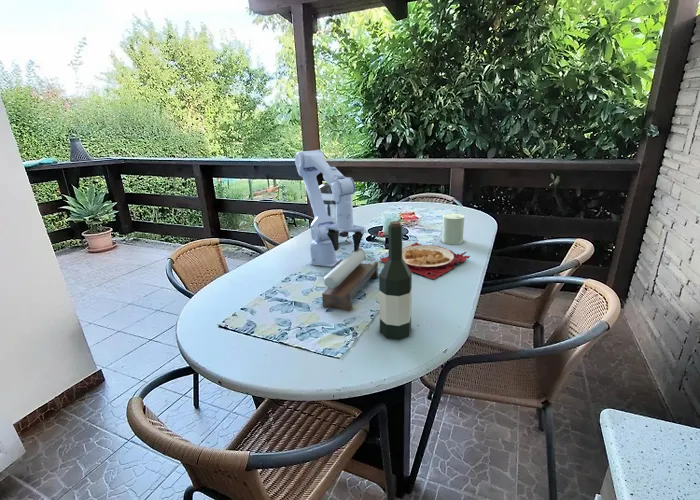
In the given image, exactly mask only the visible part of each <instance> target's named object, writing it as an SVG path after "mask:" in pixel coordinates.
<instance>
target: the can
mask: <svg viewBox="0 0 700 500" xmlns="http://www.w3.org/2000/svg"><path fill="white" fill-rule="evenodd" d="M465 217H466V216H465V215H464V214H461V213H455V212H454V213H453V212H452V213H446V214H443V215H442V233H441V234H442V235H441V241H442V243H443V244H446V245H461V244H463V243H464V228H465V227H464V226H465Z"/></svg>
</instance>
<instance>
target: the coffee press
mask: <svg viewBox="0 0 700 500" xmlns="http://www.w3.org/2000/svg"><path fill="white" fill-rule="evenodd" d="M319 188H320V192H321V195H322V198H323V202H324V205H325V208H326V212H327V215H328V216H330V217H332V218H334V219H335V222H336V224H337V218H336V202H335V201H334V196H333V193H332V189H331V186H330V185H329V184H328V183H327V182H324V183H322V184H320V185H319ZM325 225H326V224H325ZM321 226H322V225H321ZM338 242H339V244H340V243H344V242H346V243H347V244H351V243H352V239H351V238H350V235H349V232H343V231H340V233H339V237H338Z"/></svg>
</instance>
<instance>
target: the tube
mask: <svg viewBox="0 0 700 500" xmlns="http://www.w3.org/2000/svg"><path fill="white" fill-rule="evenodd" d="M366 259H367V252H366V251H365V250H364V249H363V247H362V248H361V247H359V249H358V250H357V251H354V249H353V250H352V251H351V253H349V255H347V256H346V257H345V258H344V259H342V261H341V262H339V263H338V264H336V266H335V267H334V268H332V270H331V271H329V272H328V273H327V274H326V275H325V276H324V277H323V282H324V283H323V284H324V286H326V287H327V288H336V287H337V286H338V285H339V284H340V283H341V282H342V281H343V280H344V279H345V278H346V277H347V276H348V275H349V274H350V273H351V272H352V271H353V270H354V269H355V268H356V267H357V266H358V265H359V264H360V263H363V262H364V261H365V260H366Z"/></svg>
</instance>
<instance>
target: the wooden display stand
mask: <svg viewBox="0 0 700 500" xmlns="http://www.w3.org/2000/svg"><path fill="white" fill-rule="evenodd" d="M378 263H379V262H378V261H374V263H373V264H371V263H363V262H361V263H360V264H359V265H358V266H357V267H356V268H355V269H354V270H353V271H352V272H351V273H350V274H349V275H348V276H347V277H346V278H345V279H344V280H343V281H342V282H341V283H340V284H339V285H338V286H337V287H336V288H328V287H327V288H326V289H325V290H324V291H323V292H322V293H321V294H322V295H321V296H322V307H323V308H329V309H335V310H340V311H346V312H351V311H352V310H353V298H354V297H355V296H356V295H357V294H358V293H359V291H360V290H361V289H362V288H363V286H365V284H366V283H367V282H368V280H369V279H370V278H371V279H378V278H379V264H378Z"/></svg>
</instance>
